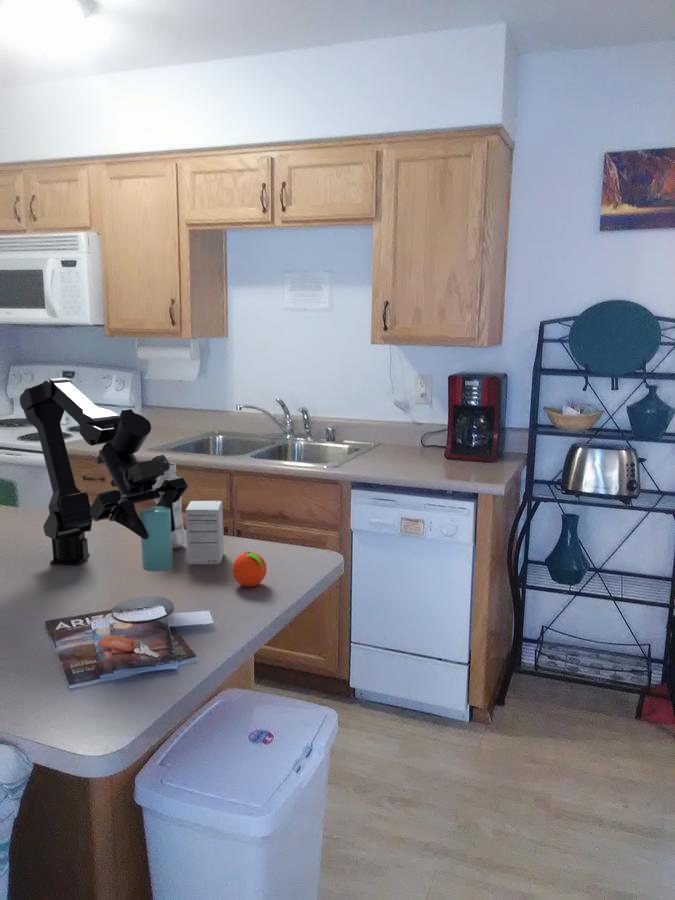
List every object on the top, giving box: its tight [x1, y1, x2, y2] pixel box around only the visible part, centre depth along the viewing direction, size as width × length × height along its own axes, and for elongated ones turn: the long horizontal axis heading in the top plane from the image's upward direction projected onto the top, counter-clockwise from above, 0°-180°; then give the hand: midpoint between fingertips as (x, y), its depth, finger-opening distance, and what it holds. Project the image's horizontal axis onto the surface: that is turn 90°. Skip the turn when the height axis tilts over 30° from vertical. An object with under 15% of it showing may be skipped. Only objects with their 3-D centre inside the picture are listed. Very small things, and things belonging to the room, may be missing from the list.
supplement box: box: [185, 500, 225, 565], centre depth 159 cm, size 7×7×13 cm
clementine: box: [231, 551, 268, 588], centre depth 144 cm, size 8×7×7 cm
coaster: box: [111, 595, 174, 615], centre depth 133 cm, size 11×11×1 cm
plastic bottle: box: [153, 462, 187, 550], centre depth 166 cm, size 6×7×20 cm
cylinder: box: [139, 505, 174, 573], centre depth 134 cm, size 6×6×11 cm
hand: (160, 534), depth 133 cm, fingers closed on cylinder, 6 cm apart
